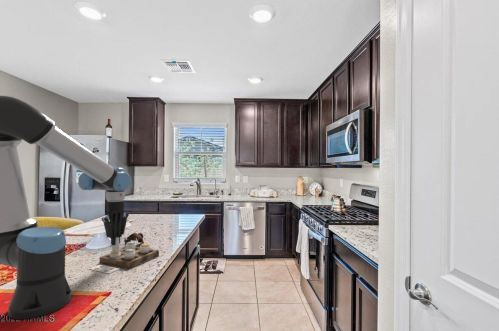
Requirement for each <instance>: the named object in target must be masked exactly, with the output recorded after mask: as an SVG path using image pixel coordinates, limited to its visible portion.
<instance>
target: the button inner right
mask: <svg viewBox="0 0 499 331" xmlns="http://www.w3.org/2000/svg"><path fill="white" fill-rule="evenodd" d="M134 258H135V250H134V249H127V250H125V251H124V259H125V260H130V259H134Z"/></svg>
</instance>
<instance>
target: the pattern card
mask: <svg viewBox="0 0 499 331" xmlns="http://www.w3.org/2000/svg"><path fill="white" fill-rule="evenodd" d="M88 270H89V271H95V272H99V273H103V274H108V275H110V274H112V273H114V272H117V271H119V270H120V267H115V266H114V267H112V266H110V265H105V264H98V265H96V266H93V267H90V268H89V269H88Z"/></svg>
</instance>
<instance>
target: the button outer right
mask: <svg viewBox="0 0 499 331" xmlns="http://www.w3.org/2000/svg"><path fill="white" fill-rule="evenodd" d="M139 247H140V253H142V254H144V253H149V252H150V249H151V245H150V243H145V242H144V244H141V245H140V246H139Z"/></svg>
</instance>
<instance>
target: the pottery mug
mask: <svg viewBox="0 0 499 331" xmlns="http://www.w3.org/2000/svg"><path fill="white" fill-rule="evenodd" d="M131 241H134V242H136V241H137V243H140V245H141V244H145V242H144V234H143V232H139V233H137V232H133V233H131V234H130V235H128V236H127V237H126V238H125V239H123V242H124V246H126V243H127V242H131Z"/></svg>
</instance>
